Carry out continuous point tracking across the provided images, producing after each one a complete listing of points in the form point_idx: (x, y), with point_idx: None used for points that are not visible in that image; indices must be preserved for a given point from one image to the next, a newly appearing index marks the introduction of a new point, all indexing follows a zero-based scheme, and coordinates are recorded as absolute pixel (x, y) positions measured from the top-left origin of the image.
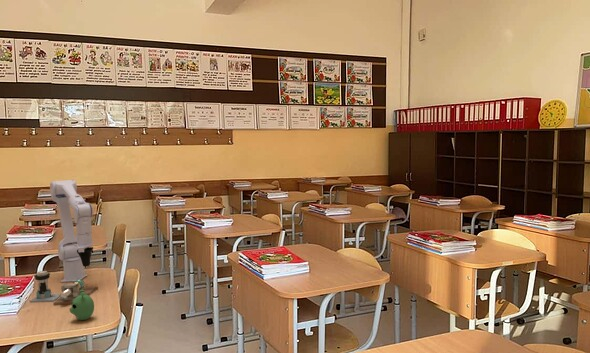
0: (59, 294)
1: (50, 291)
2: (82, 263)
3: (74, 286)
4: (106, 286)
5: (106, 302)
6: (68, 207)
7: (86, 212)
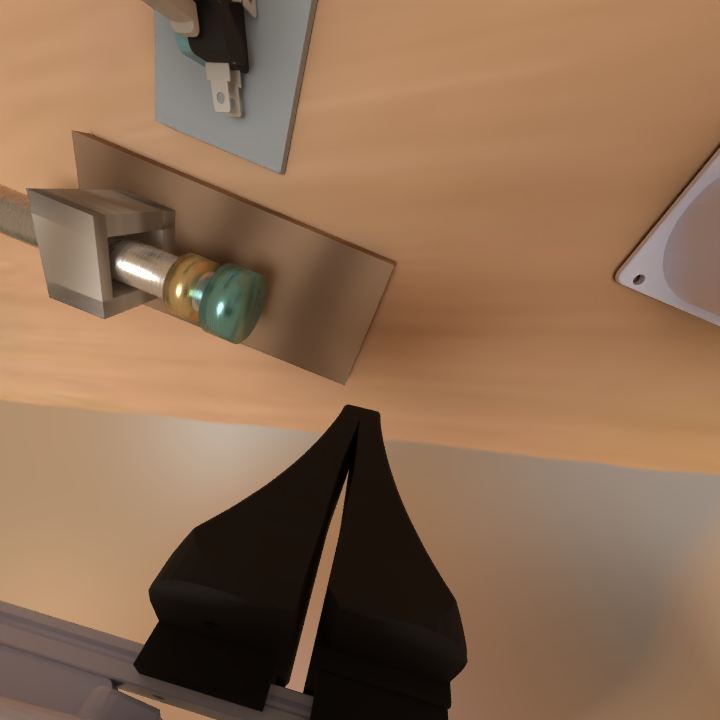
0: (273, 151)
1: (222, 59)
2: (335, 420)
3: (52, 291)
4: None
5: (128, 389)
6: None
7: None
